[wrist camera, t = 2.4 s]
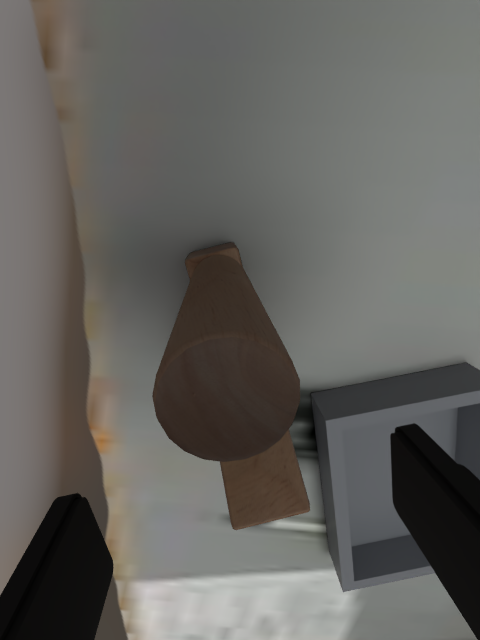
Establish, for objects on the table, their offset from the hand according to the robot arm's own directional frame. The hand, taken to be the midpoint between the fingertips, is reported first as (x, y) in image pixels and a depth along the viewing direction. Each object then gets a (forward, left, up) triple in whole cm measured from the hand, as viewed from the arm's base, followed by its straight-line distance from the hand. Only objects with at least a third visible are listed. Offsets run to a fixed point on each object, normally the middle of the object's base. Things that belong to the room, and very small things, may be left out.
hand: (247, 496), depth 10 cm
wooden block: (-1, 0, -17) cm, 17 cm away
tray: (+18, +13, -17) cm, 28 cm away
